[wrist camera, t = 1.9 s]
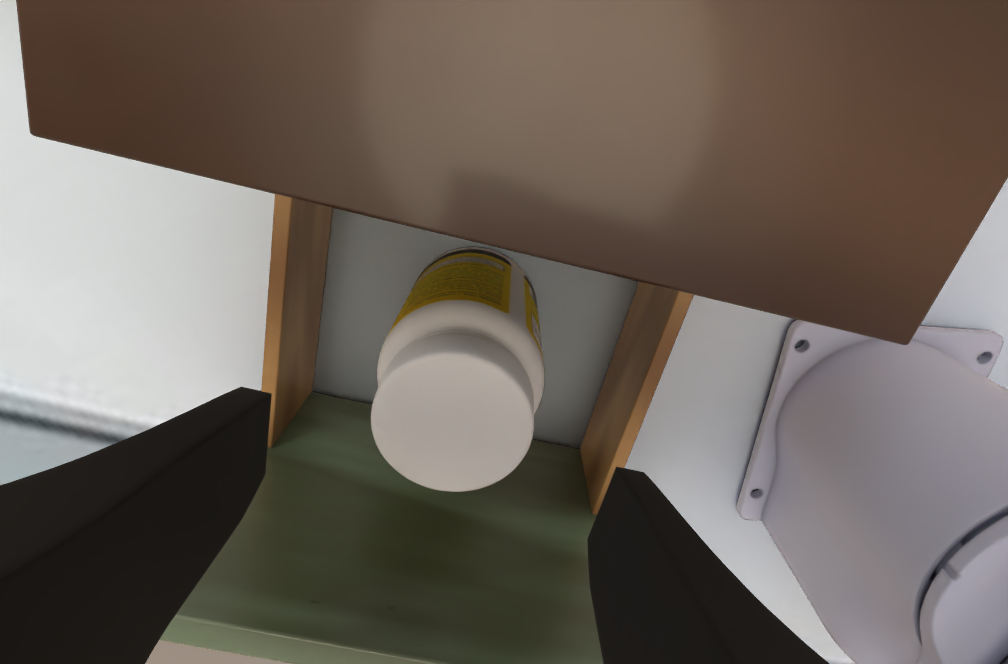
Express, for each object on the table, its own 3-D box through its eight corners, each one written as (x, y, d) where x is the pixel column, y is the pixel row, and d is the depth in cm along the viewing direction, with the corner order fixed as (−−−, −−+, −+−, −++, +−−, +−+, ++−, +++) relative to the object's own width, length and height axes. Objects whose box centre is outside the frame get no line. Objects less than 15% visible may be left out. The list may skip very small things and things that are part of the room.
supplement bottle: (388, 303, 21) (311, 423, 13) (473, 217, 19) (445, 293, 11) (476, 382, 22) (455, 534, 14) (562, 307, 20) (591, 430, 13)
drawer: (597, 501, 24) (652, 766, 14) (269, 432, 23) (91, 670, 13) (734, 150, 18) (984, 201, 8) (300, 36, 17) (20, -54, 7)
